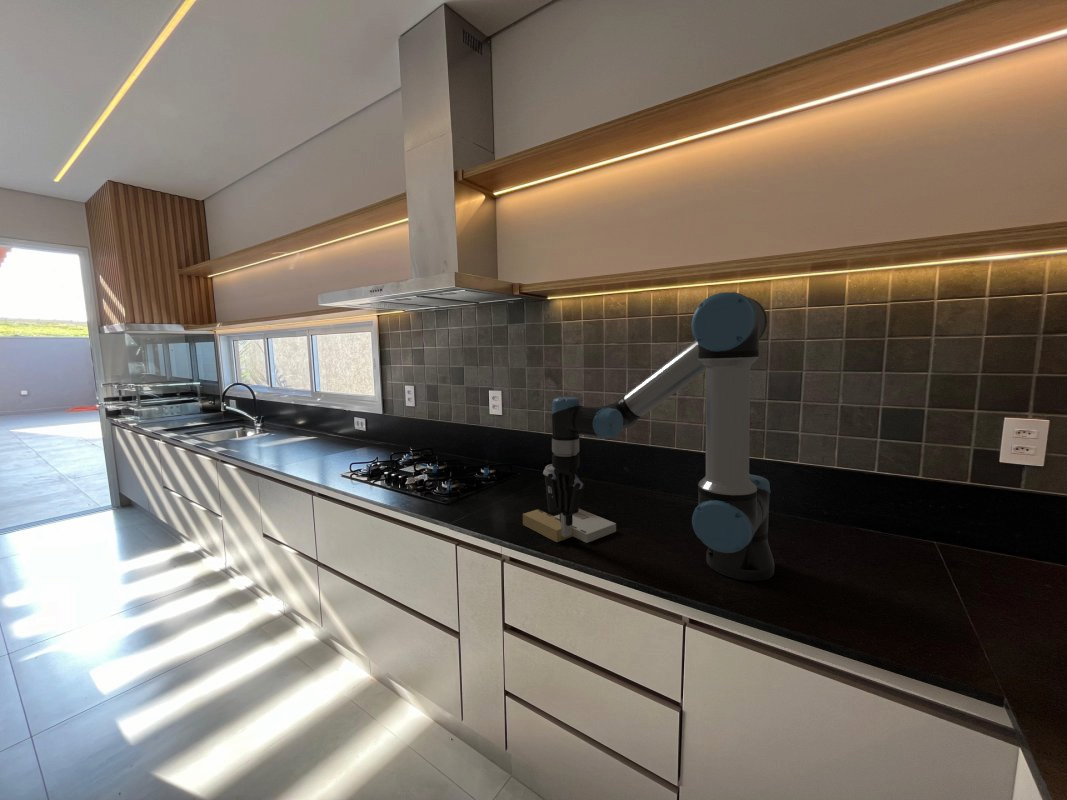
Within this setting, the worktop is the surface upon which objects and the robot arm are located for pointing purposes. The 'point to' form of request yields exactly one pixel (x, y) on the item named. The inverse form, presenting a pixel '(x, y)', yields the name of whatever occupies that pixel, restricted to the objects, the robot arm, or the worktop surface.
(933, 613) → the worktop surface
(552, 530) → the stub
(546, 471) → the coffee cup
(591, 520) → the flat white box
